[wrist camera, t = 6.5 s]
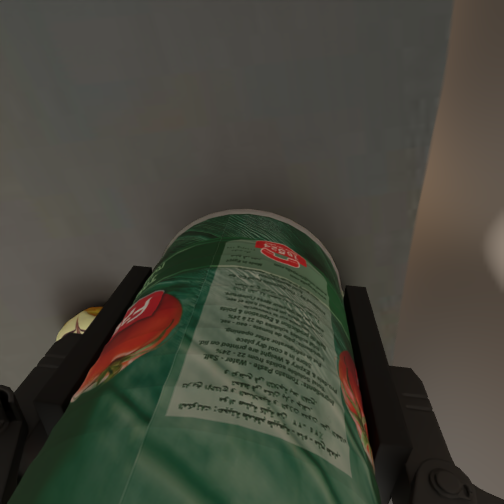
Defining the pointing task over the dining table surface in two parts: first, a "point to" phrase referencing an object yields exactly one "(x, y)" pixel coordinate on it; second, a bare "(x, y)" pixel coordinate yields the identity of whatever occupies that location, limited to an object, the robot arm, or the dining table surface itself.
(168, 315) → the canned tomato
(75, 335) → the robot arm
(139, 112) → the dining table surface
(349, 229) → the dining table surface
